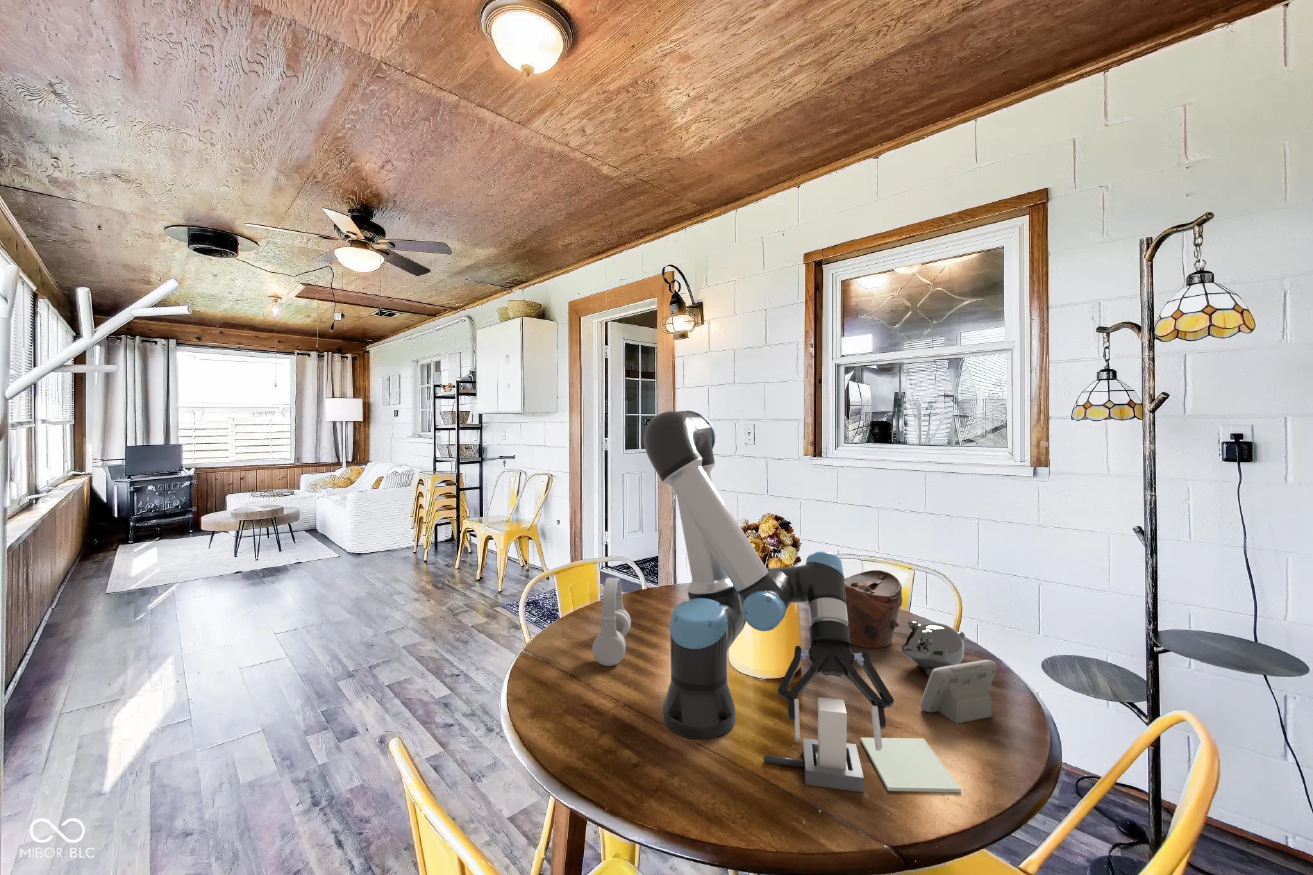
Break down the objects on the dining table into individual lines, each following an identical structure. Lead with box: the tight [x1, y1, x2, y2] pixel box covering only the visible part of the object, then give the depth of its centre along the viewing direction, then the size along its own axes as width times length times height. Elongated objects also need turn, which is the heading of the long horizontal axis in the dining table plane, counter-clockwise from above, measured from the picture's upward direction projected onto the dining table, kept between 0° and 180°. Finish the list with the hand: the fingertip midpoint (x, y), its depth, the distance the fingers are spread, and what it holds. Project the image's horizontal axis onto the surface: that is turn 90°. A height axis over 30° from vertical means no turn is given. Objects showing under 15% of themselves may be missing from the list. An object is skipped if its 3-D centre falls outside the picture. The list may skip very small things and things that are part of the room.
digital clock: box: [920, 659, 998, 724], centre depth 116 cm, size 16×9×11 cm, turn 94°
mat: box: [860, 737, 962, 793], centre depth 99 cm, size 12×14×1 cm
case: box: [844, 569, 903, 649], centre depth 152 cm, size 18×20×18 cm
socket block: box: [763, 737, 865, 793], centre depth 98 cm, size 17×9×2 cm, turn 78°
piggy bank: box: [901, 620, 966, 677], centre depth 133 cm, size 11×15×12 cm
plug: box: [815, 697, 849, 770], centre depth 97 cm, size 5×5×12 cm
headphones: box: [592, 577, 632, 667], centre depth 147 cm, size 20×8×19 cm, turn 178°
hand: (837, 744), depth 96 cm, fingers open, 13 cm apart
